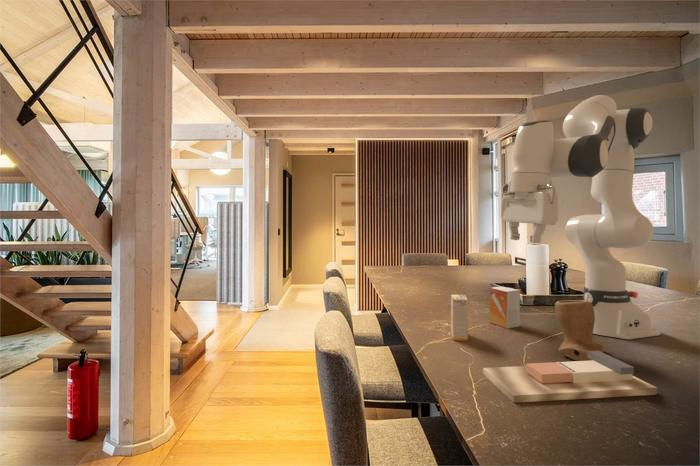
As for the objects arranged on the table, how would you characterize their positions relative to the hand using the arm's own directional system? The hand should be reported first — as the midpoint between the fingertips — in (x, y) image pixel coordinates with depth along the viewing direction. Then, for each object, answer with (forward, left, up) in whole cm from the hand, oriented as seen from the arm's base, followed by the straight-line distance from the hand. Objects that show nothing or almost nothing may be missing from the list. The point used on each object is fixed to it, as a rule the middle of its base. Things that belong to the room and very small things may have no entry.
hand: (524, 241), depth 91 cm
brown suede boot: (-20, -7, -33) cm, 39 cm away
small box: (-14, -36, -33) cm, 51 cm away
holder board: (-4, +10, -32) cm, 34 cm away
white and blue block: (-11, +10, -31) cm, 34 cm away
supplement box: (+7, -25, -33) cm, 42 cm away
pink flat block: (0, +10, -30) cm, 32 cm away
